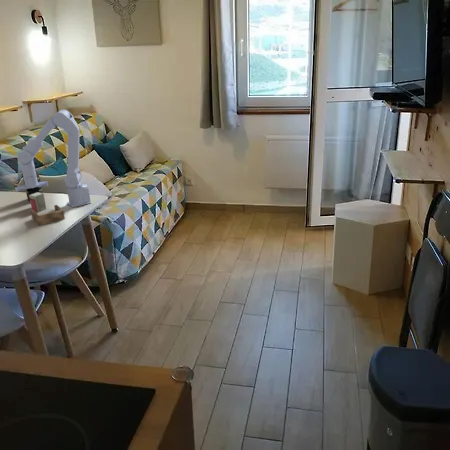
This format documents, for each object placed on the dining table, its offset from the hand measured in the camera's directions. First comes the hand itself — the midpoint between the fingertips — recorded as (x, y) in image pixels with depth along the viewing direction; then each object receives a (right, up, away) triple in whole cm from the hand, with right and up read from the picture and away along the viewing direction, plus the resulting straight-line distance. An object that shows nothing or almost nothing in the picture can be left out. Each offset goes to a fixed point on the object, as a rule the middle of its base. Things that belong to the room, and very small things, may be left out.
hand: (35, 203), depth 229 cm
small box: (+3, -4, -4) cm, 6 cm away
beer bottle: (-5, +2, +12) cm, 13 cm away
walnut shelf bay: (+12, -8, -15) cm, 21 cm away
